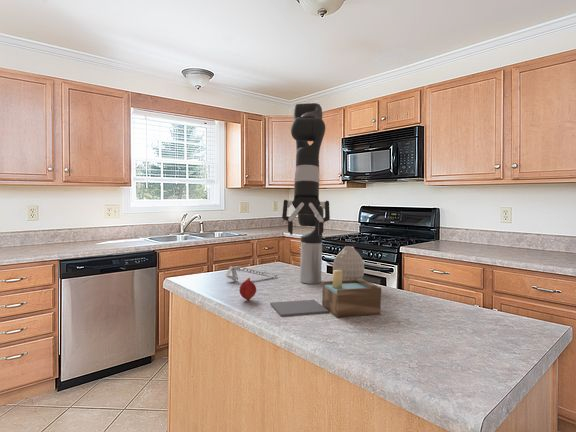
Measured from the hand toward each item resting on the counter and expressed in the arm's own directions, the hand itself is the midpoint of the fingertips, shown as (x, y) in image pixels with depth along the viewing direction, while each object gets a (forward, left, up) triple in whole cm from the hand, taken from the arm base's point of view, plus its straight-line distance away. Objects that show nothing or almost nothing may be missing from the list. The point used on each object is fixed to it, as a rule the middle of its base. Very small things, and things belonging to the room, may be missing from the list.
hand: (305, 234), depth 111 cm
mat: (-10, +2, -26) cm, 27 cm away
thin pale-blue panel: (-4, +17, -19) cm, 25 cm away
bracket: (-54, -5, -26) cm, 60 cm away
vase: (-33, +31, -26) cm, 52 cm away
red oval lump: (-23, -13, -26) cm, 37 cm away
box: (-4, +18, -26) cm, 31 cm away
